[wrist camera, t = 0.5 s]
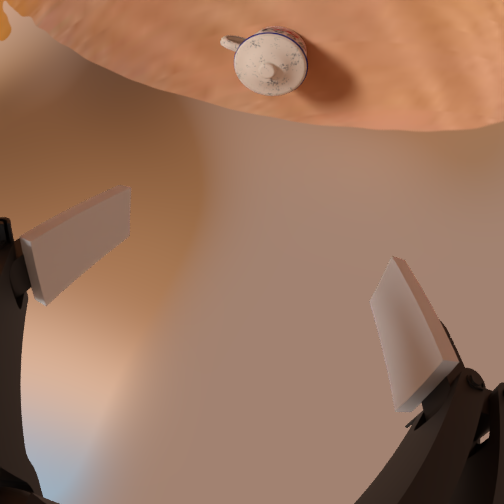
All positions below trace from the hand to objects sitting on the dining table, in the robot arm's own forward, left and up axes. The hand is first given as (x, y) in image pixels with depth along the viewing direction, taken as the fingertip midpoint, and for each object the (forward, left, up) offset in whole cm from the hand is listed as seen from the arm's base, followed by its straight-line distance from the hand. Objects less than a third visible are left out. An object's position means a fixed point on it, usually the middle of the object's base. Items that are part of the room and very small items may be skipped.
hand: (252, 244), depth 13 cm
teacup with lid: (-2, -4, -35) cm, 36 cm away
